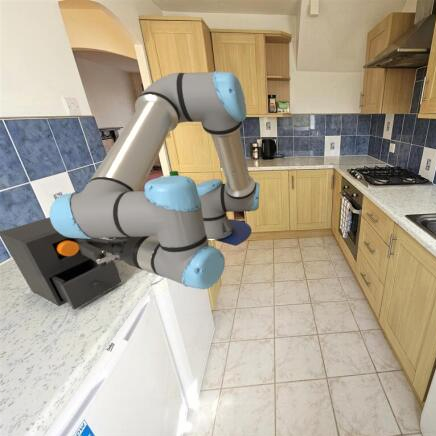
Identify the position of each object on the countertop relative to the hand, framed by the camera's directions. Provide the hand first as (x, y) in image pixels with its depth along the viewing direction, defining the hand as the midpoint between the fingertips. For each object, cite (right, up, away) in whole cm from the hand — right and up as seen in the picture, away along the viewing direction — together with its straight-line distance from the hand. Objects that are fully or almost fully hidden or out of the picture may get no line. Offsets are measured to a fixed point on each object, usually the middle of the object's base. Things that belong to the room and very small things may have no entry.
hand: (86, 232), depth 57 cm
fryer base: (-19, -17, +17) cm, 31 cm away
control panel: (-19, -8, +14) cm, 25 cm away
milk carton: (-15, +9, +77) cm, 79 cm away
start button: (-12, -7, +9) cm, 16 cm away
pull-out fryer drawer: (-11, -17, +14) cm, 25 cm away
